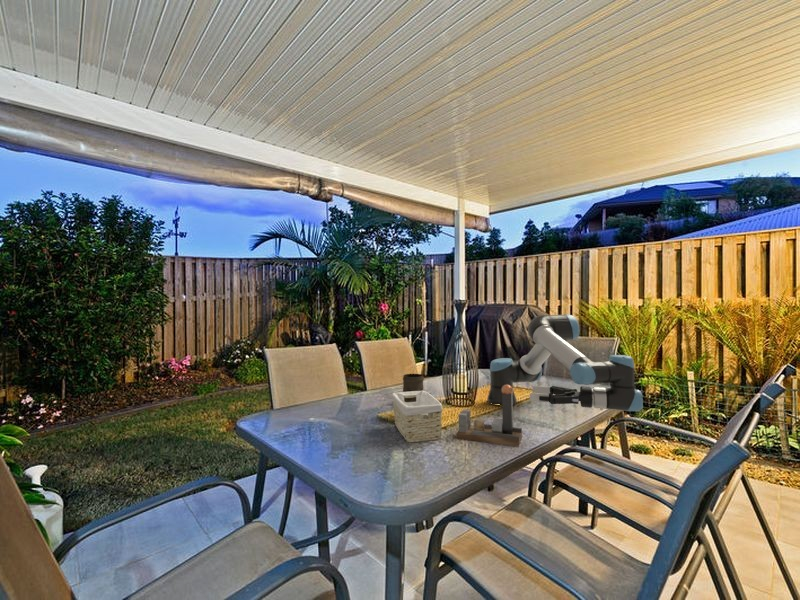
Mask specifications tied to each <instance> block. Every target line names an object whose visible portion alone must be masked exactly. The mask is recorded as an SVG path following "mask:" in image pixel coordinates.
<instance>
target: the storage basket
mask: <svg viewBox="0 0 800 600" xmlns="http://www.w3.org/2000/svg"><path fill="white" fill-rule="evenodd" d="M413 397H416V402H404V398H413ZM391 399H392V405H393V416H394V425H395V426H396V428H397V430H398V431H399V433H400V434H401V436H403V438H404V440H405V441H406V442H407V443H418V442H419V443H420V442H428V441H436V440H440V439H441V438H442V437H441V434H442V417H443V416H442V413H443V410H444V409H443V403H441V402H440V401H439V400H438V399H437V398H436V397H434V396H433V395H432V394H430V393H429V392H428V391H425V390H423V391H410V392H403V391H399V392H393V393H391Z"/></svg>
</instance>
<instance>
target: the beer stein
mask: <svg viewBox="0 0 800 600" xmlns="http://www.w3.org/2000/svg"><path fill="white" fill-rule="evenodd" d="M424 379H425V377H424V375H423V374H421V373H407V374H404V375H403V377H402V380H403V381H402V383H403V385H402V392H410V391H424ZM404 402H416V397H413V398H404Z"/></svg>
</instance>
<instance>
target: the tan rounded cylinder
mask: <svg viewBox="0 0 800 600" xmlns="http://www.w3.org/2000/svg"><path fill="white" fill-rule="evenodd" d="M473 423H474V424H473V425H474V430H478V431H484V424H485V420H484V419H474V422H473Z"/></svg>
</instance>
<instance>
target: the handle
mask: <svg viewBox="0 0 800 600" xmlns="http://www.w3.org/2000/svg"><path fill="white" fill-rule="evenodd" d="M513 391H514V387H513V388H512V387H511V386H510V385H504V386H503V387H502V406H501V407H502V409H501V410H502V413H501V414H502V419H501V418H494V419H493V420H492V422H491V425H492V432H494V433H502V434H510V435H513V427H514V415H513V414H514V405H513Z"/></svg>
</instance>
